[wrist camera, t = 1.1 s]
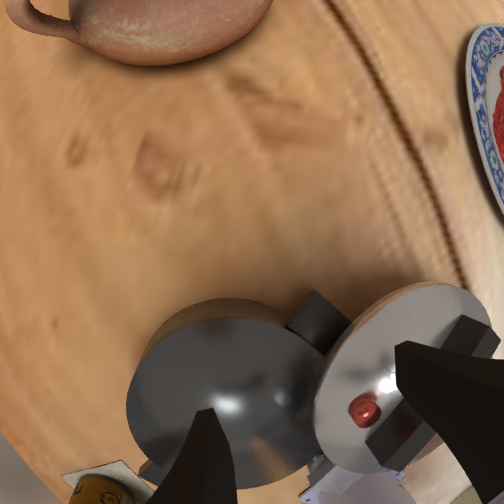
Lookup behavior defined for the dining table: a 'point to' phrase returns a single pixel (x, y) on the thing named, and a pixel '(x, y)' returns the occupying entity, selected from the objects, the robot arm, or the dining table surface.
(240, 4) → the brown clay hourglass vessel
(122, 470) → the condiment
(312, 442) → the cooker body
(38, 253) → the dining table surface
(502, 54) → the ceramic plate
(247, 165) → the dining table surface
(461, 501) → the reusable coffee cup
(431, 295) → the cooker lid
